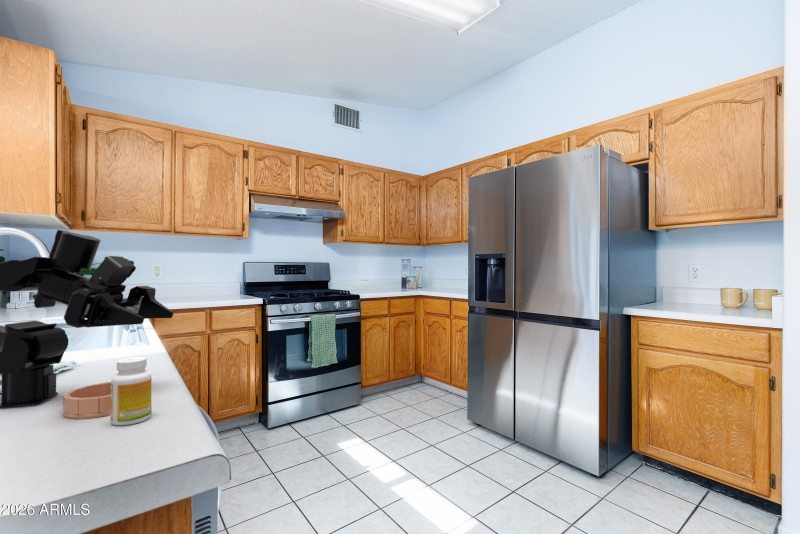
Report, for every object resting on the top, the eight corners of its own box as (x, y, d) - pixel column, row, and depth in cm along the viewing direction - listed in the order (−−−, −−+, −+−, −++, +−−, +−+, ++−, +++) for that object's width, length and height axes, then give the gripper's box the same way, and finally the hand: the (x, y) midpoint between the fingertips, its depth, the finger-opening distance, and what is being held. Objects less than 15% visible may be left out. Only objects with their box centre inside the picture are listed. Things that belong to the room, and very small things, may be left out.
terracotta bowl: (49, 422, 61) (49, 402, 61) (82, 401, 72) (83, 384, 72) (126, 414, 64) (126, 395, 64) (148, 395, 75) (148, 379, 75)
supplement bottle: (159, 415, 64) (159, 357, 64) (126, 428, 59) (127, 364, 59) (135, 412, 66) (136, 355, 66) (102, 424, 61) (103, 362, 61)
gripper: (49, 247, 63) (140, 277, 63) (127, 253, 82) (197, 277, 82) (25, 312, 63) (118, 342, 63) (109, 303, 81) (180, 326, 82)
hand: (158, 318), depth 72 cm, fingers open, 9 cm apart
